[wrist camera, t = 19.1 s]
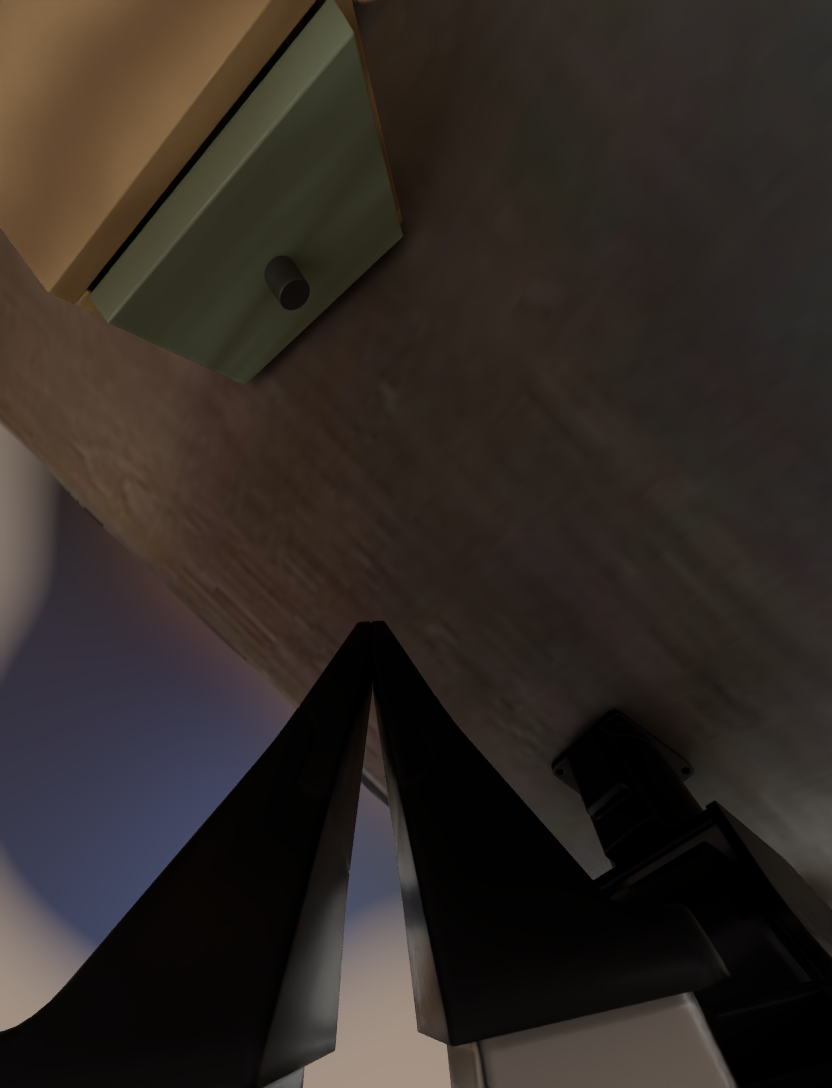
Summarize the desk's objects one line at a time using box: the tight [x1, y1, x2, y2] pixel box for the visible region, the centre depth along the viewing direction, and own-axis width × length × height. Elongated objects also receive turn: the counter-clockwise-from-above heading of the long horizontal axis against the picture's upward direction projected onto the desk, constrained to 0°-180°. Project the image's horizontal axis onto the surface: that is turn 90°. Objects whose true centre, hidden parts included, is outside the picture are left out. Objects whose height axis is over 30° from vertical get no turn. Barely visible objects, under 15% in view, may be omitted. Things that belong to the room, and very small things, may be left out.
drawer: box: [89, 0, 403, 385], centre depth 14 cm, size 14×12×8 cm
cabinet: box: [0, 0, 402, 318], centre depth 14 cm, size 14×14×10 cm
